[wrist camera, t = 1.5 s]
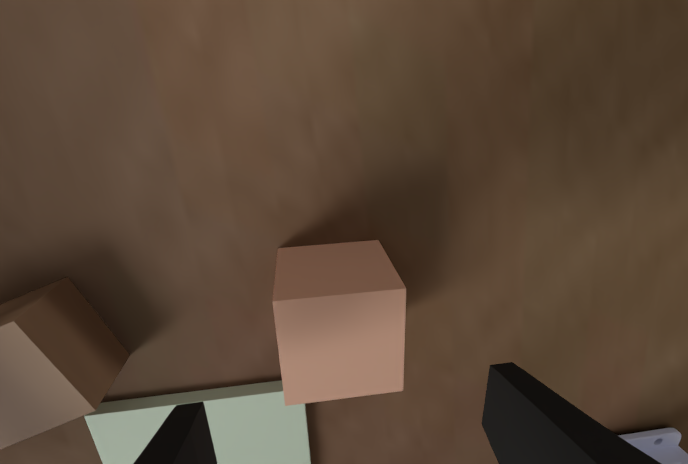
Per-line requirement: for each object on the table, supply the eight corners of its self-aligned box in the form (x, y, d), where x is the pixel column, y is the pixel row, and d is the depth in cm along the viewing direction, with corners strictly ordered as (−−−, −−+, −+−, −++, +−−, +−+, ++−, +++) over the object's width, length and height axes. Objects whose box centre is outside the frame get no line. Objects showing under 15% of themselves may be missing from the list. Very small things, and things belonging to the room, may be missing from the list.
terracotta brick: (377, 239, 15) (406, 288, 11) (378, 322, 16) (403, 390, 12) (277, 247, 14) (272, 301, 11) (286, 332, 16) (284, 406, 12)
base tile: (302, 369, 17) (302, 388, 16) (315, 497, 20) (316, 521, 19) (98, 394, 16) (84, 416, 15) (146, 524, 19) (137, 550, 18)
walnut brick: (69, 274, 14) (13, 321, 11) (131, 352, 15) (95, 410, 12) (-27, 315, 14) (-108, 371, 11) (43, 388, 15) (-12, 454, 13)
